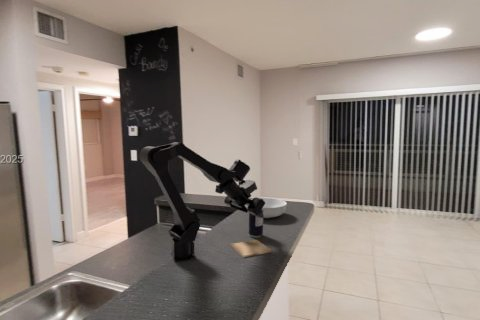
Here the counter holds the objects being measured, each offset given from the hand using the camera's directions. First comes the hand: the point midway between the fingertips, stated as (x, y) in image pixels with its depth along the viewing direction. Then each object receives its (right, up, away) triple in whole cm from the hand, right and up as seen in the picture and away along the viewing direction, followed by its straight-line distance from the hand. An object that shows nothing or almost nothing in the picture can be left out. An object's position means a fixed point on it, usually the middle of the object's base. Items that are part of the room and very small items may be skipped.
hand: (254, 214), depth 117 cm
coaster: (-2, -10, -12) cm, 16 cm away
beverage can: (0, -9, +1) cm, 9 cm away
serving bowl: (+7, -6, +30) cm, 31 cm away
